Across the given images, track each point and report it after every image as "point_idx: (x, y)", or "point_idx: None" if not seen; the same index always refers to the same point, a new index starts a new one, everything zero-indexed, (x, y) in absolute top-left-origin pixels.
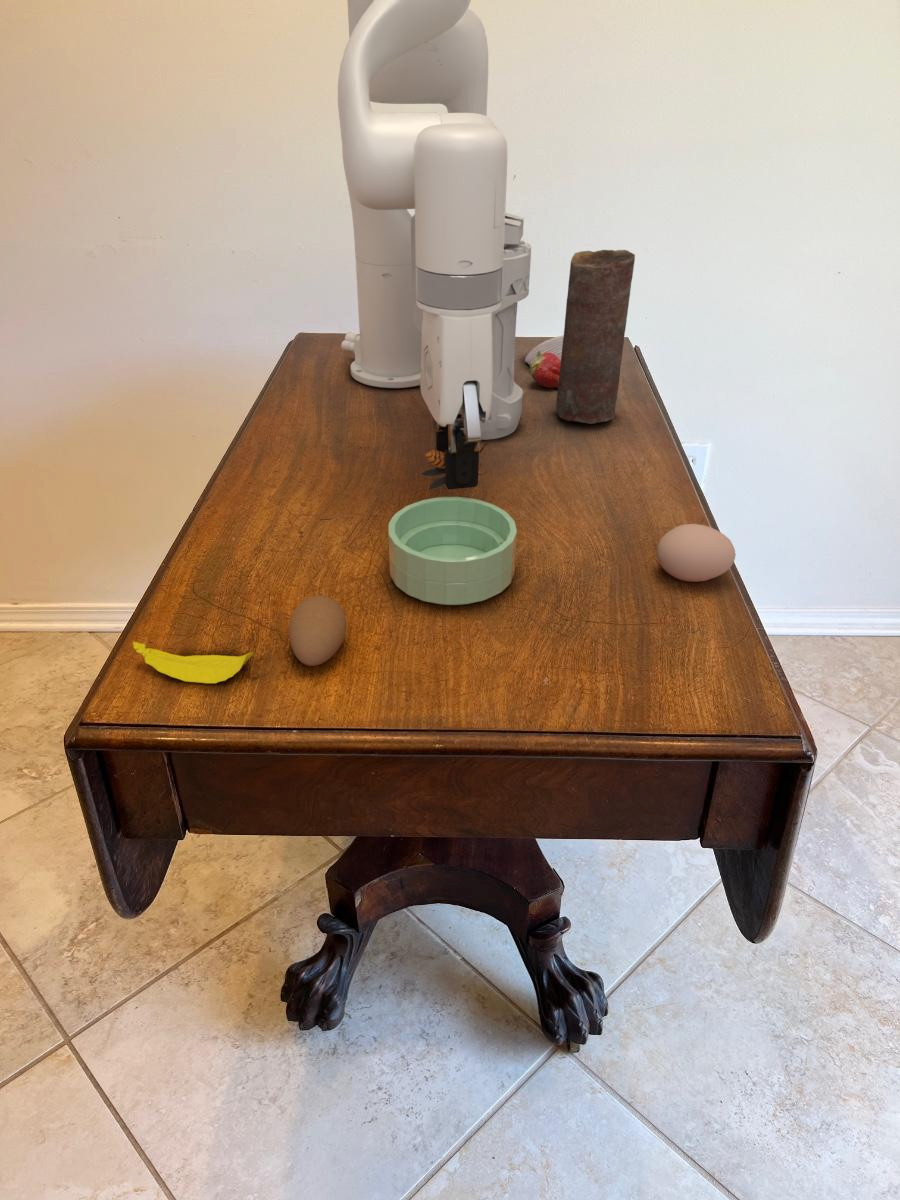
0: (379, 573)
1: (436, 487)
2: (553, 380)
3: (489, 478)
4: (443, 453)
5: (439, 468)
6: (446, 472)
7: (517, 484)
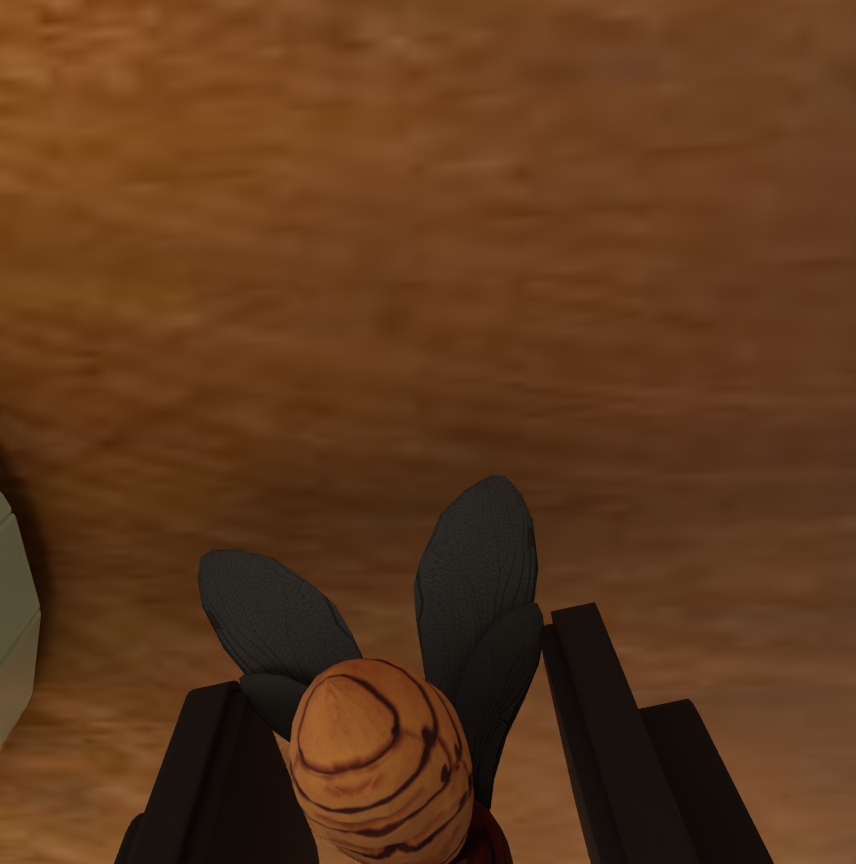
0: None
1: (215, 610)
2: None
3: (823, 730)
4: (389, 844)
5: (510, 643)
6: (152, 799)
7: None
